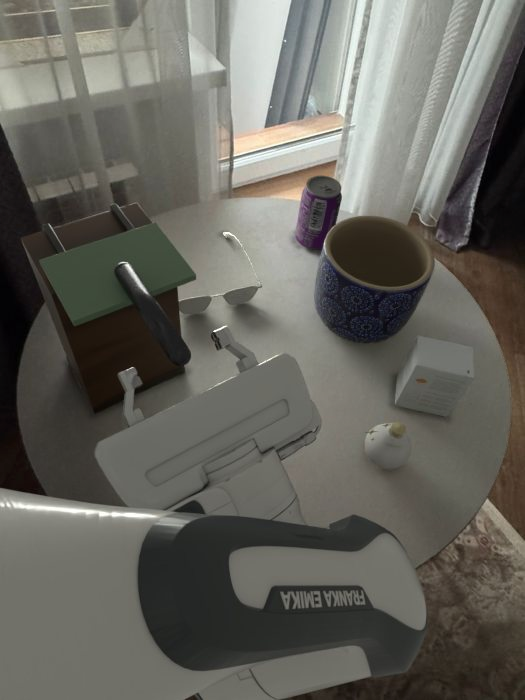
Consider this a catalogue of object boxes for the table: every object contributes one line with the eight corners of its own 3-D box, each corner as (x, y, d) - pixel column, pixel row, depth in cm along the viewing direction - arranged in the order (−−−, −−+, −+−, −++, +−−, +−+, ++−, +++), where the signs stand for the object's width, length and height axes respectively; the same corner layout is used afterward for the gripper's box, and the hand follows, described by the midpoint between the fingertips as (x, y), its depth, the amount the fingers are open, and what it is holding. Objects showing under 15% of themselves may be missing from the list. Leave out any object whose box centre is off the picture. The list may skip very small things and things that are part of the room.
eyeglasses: (172, 319, 82) (170, 302, 79) (149, 246, 92) (146, 229, 89) (261, 300, 86) (263, 284, 83) (229, 233, 96) (230, 216, 93)
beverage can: (338, 244, 96) (352, 190, 87) (309, 257, 94) (320, 203, 84) (316, 223, 100) (327, 169, 90) (287, 235, 97) (295, 180, 87)
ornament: (409, 473, 69) (434, 439, 61) (357, 480, 68) (376, 447, 60) (395, 434, 72) (417, 397, 64) (345, 440, 71) (362, 403, 63)
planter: (332, 366, 79) (352, 301, 67) (294, 291, 88) (306, 223, 76) (423, 343, 83) (458, 279, 71) (378, 275, 92) (402, 207, 80)
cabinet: (185, 372, 76) (175, 246, 56) (94, 414, 71) (48, 290, 51) (155, 327, 81) (136, 196, 61) (68, 362, 75) (17, 231, 56)
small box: (447, 388, 78) (475, 346, 70) (447, 418, 75) (476, 378, 66) (395, 376, 79) (417, 333, 70) (393, 406, 75) (415, 365, 67)
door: (247, 346, 48) (249, 327, 46) (117, 406, 43) (112, 388, 41) (156, 227, 58) (153, 207, 56) (40, 265, 53) (33, 244, 51)
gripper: (343, 432, 47) (279, 299, 47) (140, 552, 39) (64, 392, 40) (314, 433, 53) (257, 315, 53) (133, 538, 45) (66, 399, 45)
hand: (173, 349), depth 46 cm, fingers open, 8 cm apart
